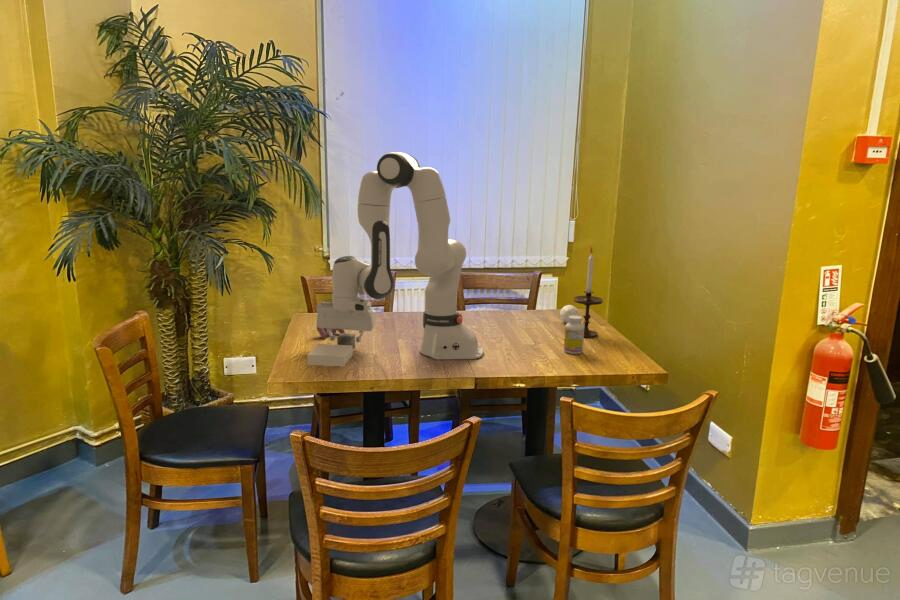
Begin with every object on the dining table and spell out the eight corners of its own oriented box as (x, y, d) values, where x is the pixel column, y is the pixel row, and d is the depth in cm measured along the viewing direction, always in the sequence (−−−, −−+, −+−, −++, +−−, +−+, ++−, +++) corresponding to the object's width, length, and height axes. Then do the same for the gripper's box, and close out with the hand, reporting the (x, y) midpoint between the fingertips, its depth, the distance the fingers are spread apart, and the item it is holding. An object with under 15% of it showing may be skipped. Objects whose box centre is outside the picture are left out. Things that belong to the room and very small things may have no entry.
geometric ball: (563, 329, 266) (552, 313, 266) (575, 320, 270) (564, 304, 270) (574, 324, 259) (563, 308, 259) (586, 315, 263) (575, 299, 263)
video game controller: (340, 336, 245) (335, 319, 246) (346, 333, 242) (341, 316, 242) (318, 341, 238) (313, 323, 239) (324, 338, 235) (319, 320, 236)
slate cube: (355, 347, 227) (354, 333, 226) (351, 351, 222) (351, 337, 221) (341, 346, 228) (341, 333, 226) (337, 350, 223) (337, 337, 222)
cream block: (352, 356, 218) (352, 345, 217) (343, 368, 206) (343, 356, 205) (318, 355, 219) (318, 343, 218) (307, 366, 207) (307, 354, 206)
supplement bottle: (567, 348, 231) (569, 313, 228) (584, 350, 228) (587, 316, 225) (561, 352, 225) (563, 317, 222) (579, 355, 222) (582, 320, 219)
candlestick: (587, 340, 241) (594, 248, 233) (565, 333, 249) (571, 245, 241) (605, 335, 248) (612, 246, 240) (583, 329, 256) (589, 242, 248)
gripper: (313, 303, 220) (314, 341, 223) (371, 306, 218) (371, 345, 221) (319, 299, 226) (319, 336, 229) (375, 302, 224) (375, 340, 227)
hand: (345, 341), depth 225 cm, fingers open, 8 cm apart
